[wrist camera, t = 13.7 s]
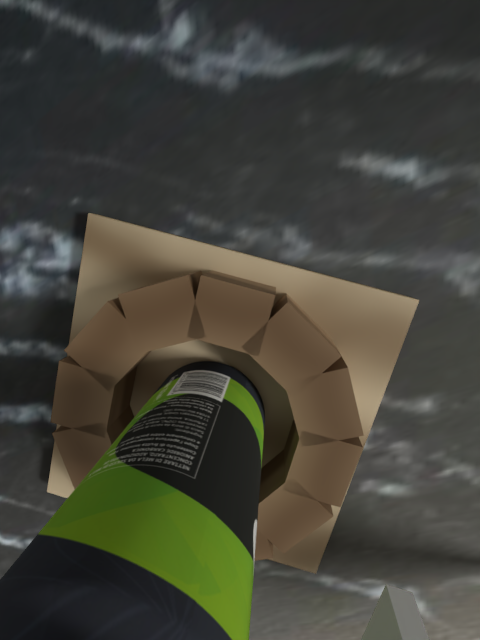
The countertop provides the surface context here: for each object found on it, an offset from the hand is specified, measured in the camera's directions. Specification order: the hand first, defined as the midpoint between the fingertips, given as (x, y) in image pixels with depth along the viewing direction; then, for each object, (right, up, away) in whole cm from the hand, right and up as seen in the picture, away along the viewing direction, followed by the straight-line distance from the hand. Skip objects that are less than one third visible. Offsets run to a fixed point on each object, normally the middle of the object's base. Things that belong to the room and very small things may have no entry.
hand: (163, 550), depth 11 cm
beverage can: (+1, +2, +10) cm, 10 cm away
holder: (+1, +2, +11) cm, 11 cm away
